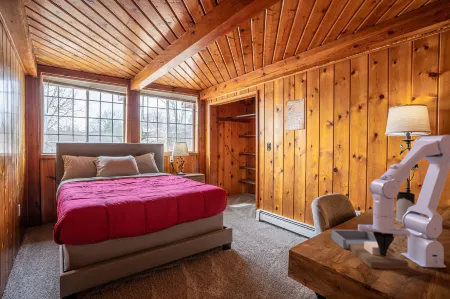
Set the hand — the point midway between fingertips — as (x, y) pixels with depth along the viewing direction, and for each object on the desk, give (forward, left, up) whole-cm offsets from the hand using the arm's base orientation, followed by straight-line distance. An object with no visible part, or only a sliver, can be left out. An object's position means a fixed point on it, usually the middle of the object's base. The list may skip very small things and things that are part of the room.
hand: (382, 254), depth 78 cm
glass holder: (+48, -45, -3) cm, 66 cm away
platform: (+4, 0, -3) cm, 4 cm away
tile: (+4, 0, -1) cm, 4 cm away
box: (+16, 0, -3) cm, 16 cm away
